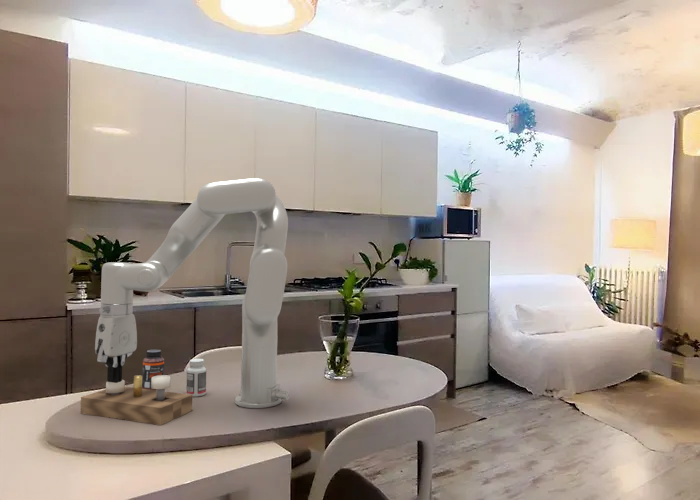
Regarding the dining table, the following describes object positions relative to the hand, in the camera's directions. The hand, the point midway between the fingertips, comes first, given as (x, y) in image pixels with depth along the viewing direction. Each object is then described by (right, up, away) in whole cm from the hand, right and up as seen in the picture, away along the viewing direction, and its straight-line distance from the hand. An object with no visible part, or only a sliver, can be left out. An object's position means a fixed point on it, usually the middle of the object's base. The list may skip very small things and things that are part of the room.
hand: (114, 381), depth 130 cm
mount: (+7, -7, -2) cm, 10 cm away
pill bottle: (+17, -8, +15) cm, 23 cm away
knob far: (0, -5, 0) cm, 5 cm away
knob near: (+13, -3, -4) cm, 14 cm away
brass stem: (+7, -3, -2) cm, 8 cm away
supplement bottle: (+2, -7, +19) cm, 21 cm away
